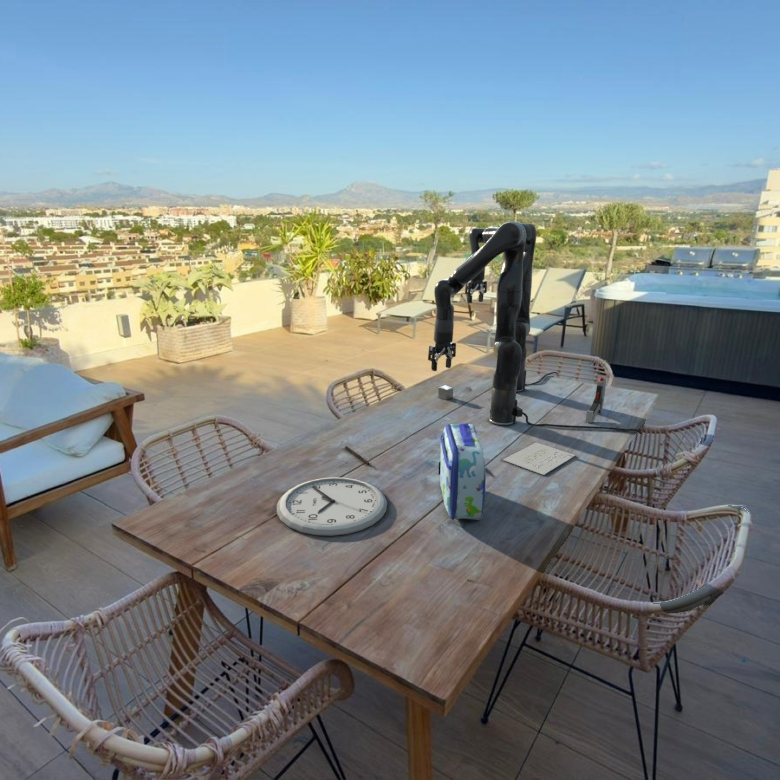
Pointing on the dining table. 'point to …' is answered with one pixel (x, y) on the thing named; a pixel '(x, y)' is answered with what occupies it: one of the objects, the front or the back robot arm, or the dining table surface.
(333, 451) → the dining table surface
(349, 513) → the wall clock
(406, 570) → the dining table surface
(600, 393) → the toy gun
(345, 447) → the brown thin stick
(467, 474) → the lunch box
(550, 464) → the invitation card
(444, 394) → the block
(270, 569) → the dining table surface
